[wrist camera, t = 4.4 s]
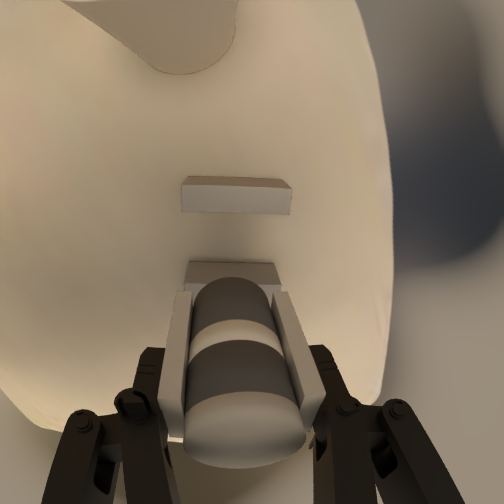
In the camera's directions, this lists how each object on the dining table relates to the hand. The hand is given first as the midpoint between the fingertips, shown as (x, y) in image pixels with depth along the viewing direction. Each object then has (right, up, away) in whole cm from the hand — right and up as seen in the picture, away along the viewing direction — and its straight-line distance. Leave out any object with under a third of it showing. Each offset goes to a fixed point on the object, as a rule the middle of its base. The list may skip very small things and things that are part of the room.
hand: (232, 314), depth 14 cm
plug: (0, 0, 0) cm, 0 cm away
